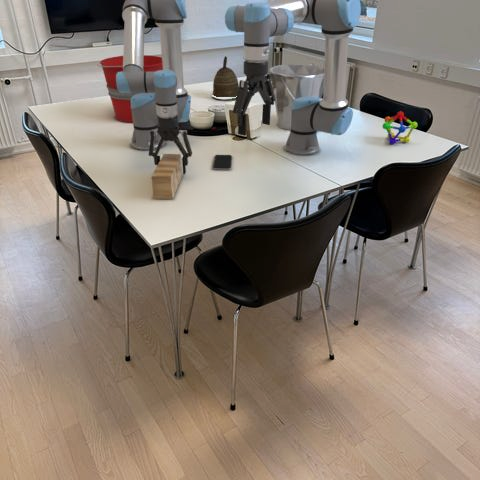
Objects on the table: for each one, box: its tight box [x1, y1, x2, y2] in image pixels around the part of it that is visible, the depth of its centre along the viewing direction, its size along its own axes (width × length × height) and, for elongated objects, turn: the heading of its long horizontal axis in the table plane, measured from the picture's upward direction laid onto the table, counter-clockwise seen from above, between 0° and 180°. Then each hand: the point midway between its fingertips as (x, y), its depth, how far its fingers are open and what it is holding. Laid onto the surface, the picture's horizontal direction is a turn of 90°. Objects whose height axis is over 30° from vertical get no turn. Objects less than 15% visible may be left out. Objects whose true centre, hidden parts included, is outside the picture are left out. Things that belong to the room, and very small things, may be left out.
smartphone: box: [212, 154, 233, 171], centre depth 188 cm, size 7×1×15 cm
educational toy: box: [382, 110, 418, 145], centre depth 207 cm, size 16×13×15 cm
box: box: [151, 153, 183, 200], centre depth 166 cm, size 22×7×9 cm, turn 177°
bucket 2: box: [269, 63, 324, 131], centre depth 226 cm, size 30×30×28 cm
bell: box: [212, 56, 239, 97], centre depth 278 cm, size 19×26×20 cm
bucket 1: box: [96, 54, 163, 124], centre depth 238 cm, size 35×35×30 cm
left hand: (172, 172), depth 174 cm, fingers open, 9 cm apart
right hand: (254, 129), depth 145 cm, fingers open, 13 cm apart
